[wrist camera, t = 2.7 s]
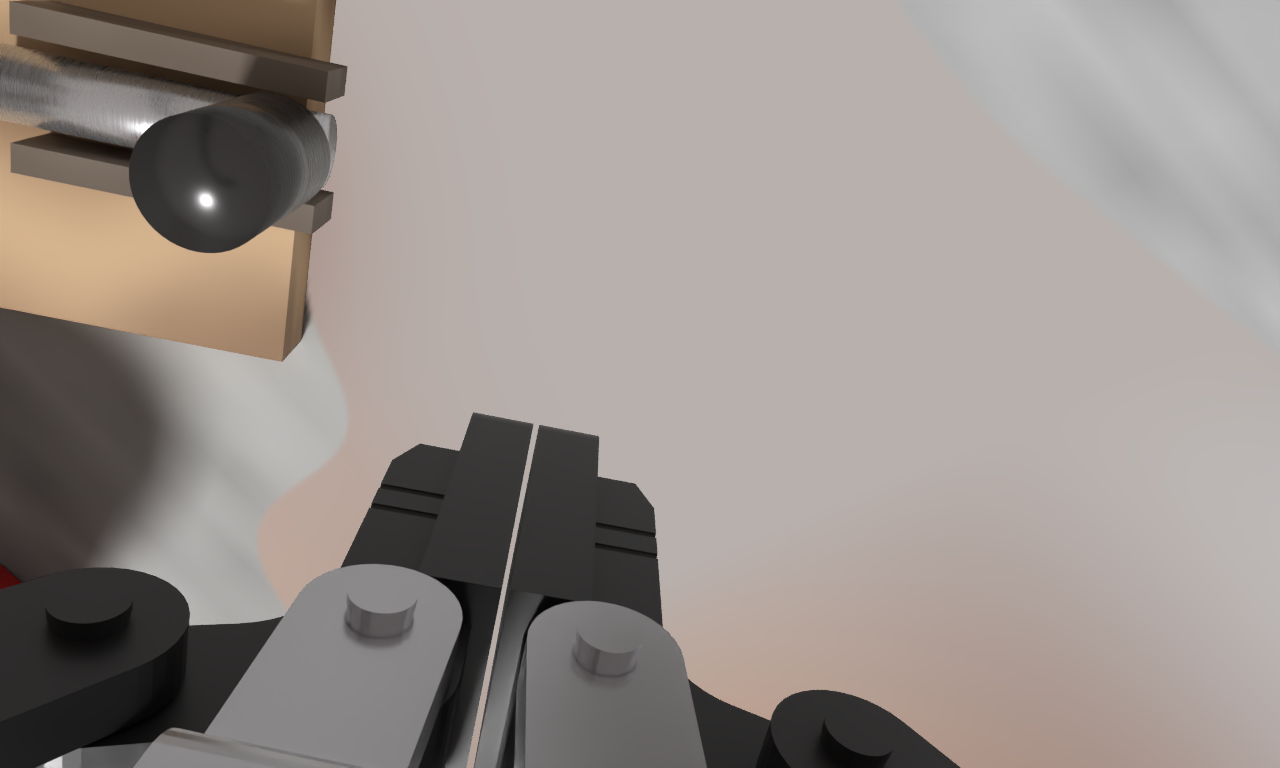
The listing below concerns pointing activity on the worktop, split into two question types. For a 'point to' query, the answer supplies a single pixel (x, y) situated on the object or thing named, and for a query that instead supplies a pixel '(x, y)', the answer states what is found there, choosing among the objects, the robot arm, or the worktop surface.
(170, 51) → the lock plate
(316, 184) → the bolt
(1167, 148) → the worktop surface
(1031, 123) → the worktop surface
